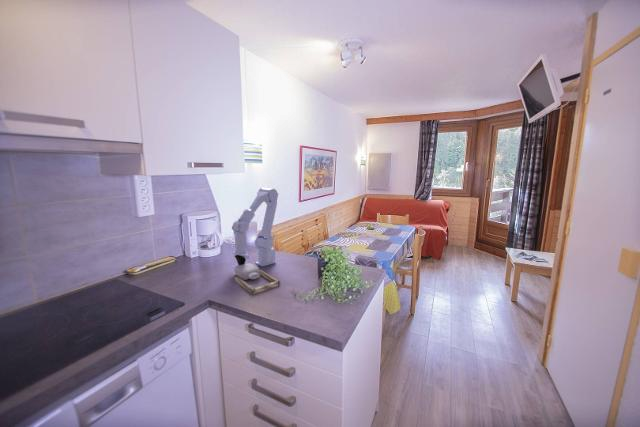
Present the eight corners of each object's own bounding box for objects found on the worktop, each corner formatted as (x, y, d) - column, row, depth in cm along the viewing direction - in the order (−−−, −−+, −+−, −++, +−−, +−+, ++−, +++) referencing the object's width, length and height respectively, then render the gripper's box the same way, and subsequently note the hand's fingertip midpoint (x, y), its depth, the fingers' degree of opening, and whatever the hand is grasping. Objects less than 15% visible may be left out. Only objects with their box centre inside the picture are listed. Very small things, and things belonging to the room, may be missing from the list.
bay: (260, 273, 138) (260, 269, 138) (279, 285, 125) (279, 281, 125) (234, 280, 129) (234, 276, 128) (252, 294, 116) (252, 290, 115)
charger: (248, 285, 124) (235, 275, 135) (265, 279, 131) (251, 270, 141) (248, 275, 124) (234, 266, 134) (265, 271, 130) (251, 262, 141)
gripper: (227, 241, 139) (228, 265, 141) (239, 248, 128) (240, 274, 131) (240, 239, 143) (240, 262, 146) (252, 245, 133) (253, 270, 135)
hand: (241, 267), depth 139 cm, fingers closed
